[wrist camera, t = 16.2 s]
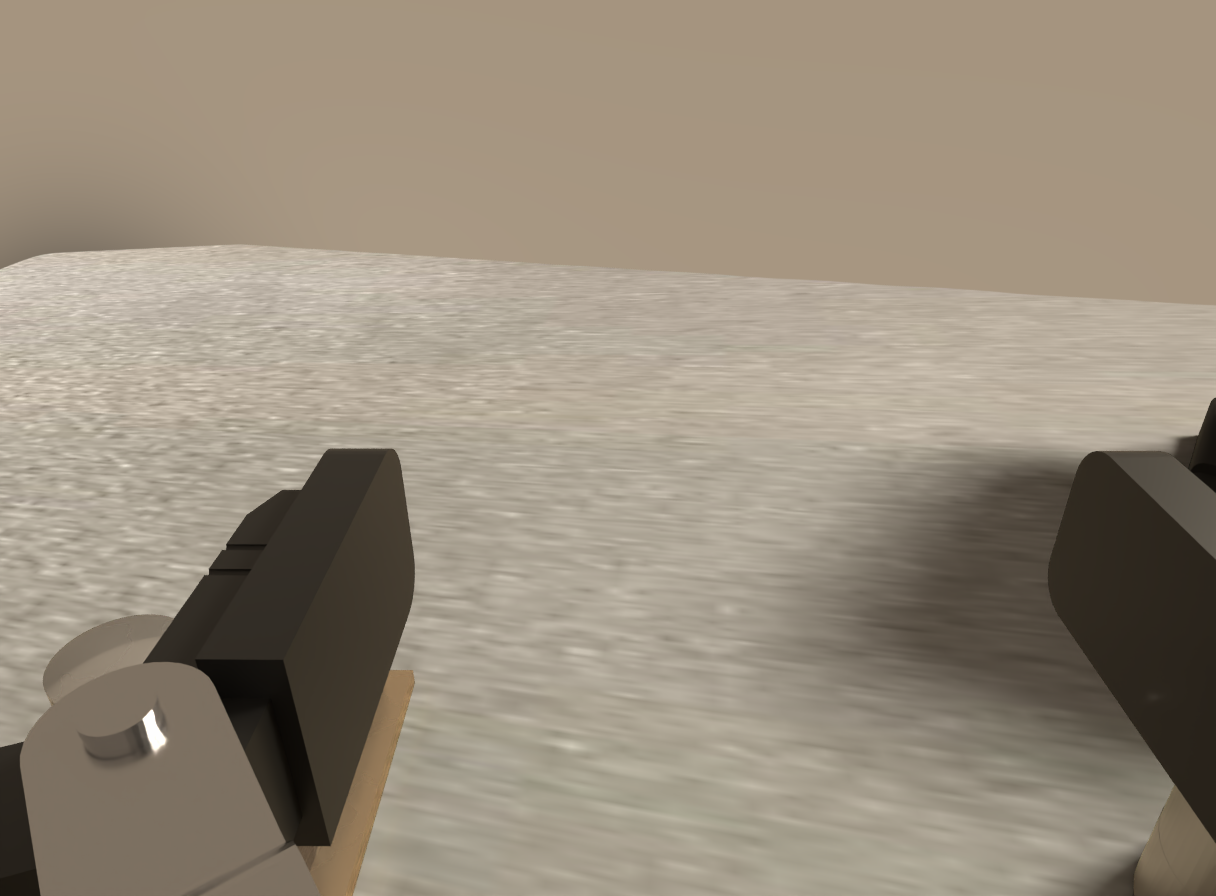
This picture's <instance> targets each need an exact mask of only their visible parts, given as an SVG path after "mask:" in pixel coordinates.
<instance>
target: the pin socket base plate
mask: <svg viewBox="0 0 1216 896" xmlns="http://www.w3.org/2000/svg"><path fill="white" fill-rule="evenodd" d="M414 684H415V681H414V674H413V670H390V671H389V674H388V677H387V680H386V683H385V686H384V689H383V692H382V695H381V698H380V701H379V704H378V707H377V710H376V713H375V716H374V719H373V722H372V725H371V728H370V731H369V734H368V737H367V740H366V743H365V746H364V749H363V752H362V755H361V758H360V761H359V764H358V767H357V770H356V773H355V776H354V779H353V782H352V785H351V788H350V790H349V793H348V796H347V799H346V802H345V805H344V808H343V811H342V814H341V817H340V820H339V823H338V826H337V829H336V832H335V835H334V838H333V841H332V844H331V846H297V848H298V850H299V851H300V853H301V855H302V857H303V859H304V861H305V863H306V865H307V867H308V869H309V872H310V874H311V876H312V878H313V880H314V882H315V884H316V887H317V889H318V891H319V893H320V895H321V896H352V895H353V892H354V888H355V885H356V881H357V878H358V875H359V871H360V868H361V864H362V861H363V858H364V854H365V851H366V847H367V844H368V841H369V837H370V834H371V830H372V827H373V823H374V820H375V817H376V813H377V810H378V806H379V803H380V800H381V796H382V793H383V789H384V786H385V783H386V779H387V776H388V772H389V769H390V765H391V762H392V759H393V755H394V752H395V748H396V745H397V742H398V738H399V735H400V731H401V728H402V725H403V721H404V718H405V714H406V711H407V707H408V704H409V701H410V697H411V694H412V690H413V687H414Z"/></svg>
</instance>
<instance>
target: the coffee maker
mask: <svg viewBox="0 0 1216 896" xmlns="http://www.w3.org/2000/svg"><path fill="white" fill-rule="evenodd" d="M1188 470H1190V471H1191V472H1192V473H1193V474H1194V475H1195V476H1197V477H1198V478H1199V479H1200V480H1201V481H1202V482H1203V483H1205V484H1206V485H1207V486H1208V487H1209V488H1210V489H1212V490H1213V491H1214V492H1215V493H1216V398H1214V399H1213V400H1212V401H1211V403H1210V406H1209V408H1208V411H1207V414H1206V416H1205V419H1204V422H1203V424H1202V427H1201V430H1200V432H1199V435H1198V438H1197V442H1196V445H1195V448H1194V452H1193V455H1192V458H1191V462H1190V465H1189V468H1188Z"/></svg>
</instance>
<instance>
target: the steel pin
mask: <svg viewBox="0 0 1216 896" xmlns="http://www.w3.org/2000/svg"><path fill="white" fill-rule="evenodd" d="M173 620H174V619H173V618H170V617H167V616H162V615H135V616H129V617H124V618H120V619H116V620H113V621H109V622H107V623H104V624H101V625H99V626H97V627H94V628H92V629H90V630H88V631H86V632H84V633H83V634H81V635H79V636H78V637H76V638H74V639H73V640H72V641H70V642H69V643H68V644H66V645H65V646H64V647H63V648H62V649H61V650H60V651H59V652H58V653H57V654H56V655H55V656H54V657H53V658H52V659H51V661H50V662H49V664H48V666H47V668H46V670H45V672H44V676H43V686H44V690H45V692H46V694H47V696H48V699H49V701H50V703H51V706H53V705H54V704H55V703H56V702H58V701H59V700H60V699H61V698H63V697H64V696H66V695H67V694H69V693H70V692H72V691H73V690H75V689H76V688H78V687H80V686H82V685H83V684H85V683H87V682H89V681H91V680H93V679H95V678H97V677H100V676H102V675H104V674H107V673H110V672H112V671H115V670H118V669H121V668H125V667H129V666H133V665H138V664H143V662H144V661H145V659H146V658H147V657H148V655H149V654H150V652H151V651H152V650H153V648H154V647H155V645H156V644H157V642H158V641H159V640H160V638H161V637H162V635H163V634H164V632H165V631H166V630H167V628H168V627H169V625H170V624H171V622H172V621H173Z"/></svg>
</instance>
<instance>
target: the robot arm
mask: <svg viewBox="0 0 1216 896" xmlns="http://www.w3.org/2000/svg"><path fill="white" fill-rule="evenodd" d="M226 546H227V548H226V550H222V551H221V553H220V554H219V555H218V557H217V558H216V560H215V561H214V562H213V564H212V565H211V567H210V568H209V575H204V577H203V578H202V580H201V581H200V582H199V584H198V585H197V587H196V588H195V590H194V591H193V592H192V594H191V595H190V597H189V598H188V600H187V601H186V602H185V604H184V605H183V607H182V608H181V610H180V611H179V612H178V614H177V615H176V617H175V618H174V620H173V621H172V622H171V624H170V625H169V627H168V628H167V630H166V631H165V632H164V634H163V635H162V637H161V638H160V640H159V641H158V642H157V644H156V645H155V647H154V648H153V650H152V651H151V652H150V654H149V655H148V657H147V658H146V659H145V661H144V662H143V664H138V665H133V666H129V667H125V668H121V669H118V670H115V671H112V672H110V673H107V674H104V675H102V676H100V677H97V678H95V679H93V680H91V681H89V682H87V683H85V684H83V685H82V686H80V687H78V688H76V689H75V690H73V691H72V692H70V693H69V694H67V695H66V696H64V697H63V698H61V699H60V700H59V701H58V702H56V703H55V704H54V705H53V706H52V707H50V708H49V709H48V710H47V711H46V712H45V713H44V714H43V715H42V716H41V717H40V719H39V720H38V721H37V722H36V723H35V725H34V726H33V728H32V729H31V730H30V732H29V733H28V735H27V737H26V739H25V741H24V742H21V743H17V744H13V745H9V746H4V747H0V896H321V895H320V893H319V891H318V889H317V887H316V884H315V882H314V880H313V878H312V876H311V874H310V872H309V869H308V867H307V865H306V863H305V861H304V859H303V857H302V855H301V853H300V851H299V850H298V848H297V846H331V844H332V841H333V838H334V835H335V832H336V829H337V826H338V823H339V820H340V817H341V814H342V811H343V808H344V805H345V802H346V799H347V796H348V793H349V790H350V788H351V785H352V782H353V779H354V776H355V773H356V770H357V767H358V764H359V761H360V758H361V755H362V752H363V749H364V746H365V743H366V740H367V737H368V734H369V731H370V728H371V725H372V722H373V719H374V716H375V713H376V710H377V707H378V704H379V701H380V698H381V695H382V692H383V689H384V686H385V683H386V680H387V677H388V674H389V671H390V668H391V665H392V662H393V659H394V656H395V653H396V650H397V647H398V644H399V641H400V638H401V635H402V632H403V630H404V627H405V624H406V621H407V618H408V615H409V612H410V608H411V604H412V599H413V592H414V581H415V564H414V554H413V547H412V540H411V533H410V526H409V519H408V512H407V505H406V498H405V491H404V484H403V477H402V470H401V465H400V461H399V457H398V455H397V453H396V451H395V450H394V449H328V450H327V451H326V452H325V453H324V455H323V456H322V458H321V459H320V461H319V463H318V464H317V466H316V467H315V469H314V471H313V472H312V474H311V475H310V477H309V479H308V480H307V482H306V483H305V485H304V487H303V488H302V490H282V491H280V492H279V493H277V494H276V495H275V496H273V497H272V498H270V499H269V500H267V501H266V502H265V503H263V504H262V505H260V506H259V507H257V508H256V509H255V510H253V511H252V512H250V513H249V514H247V515H246V517H245V518H244V520H243V521H242V523H241V524H240V525H239V527H238V528H237V530H236V531H235V533H234V534H233V535H232V537H231V538H230V540H229V541H228V543H227V544H226ZM1048 585H1049V592H1050V596H1051V600H1052V603H1053V606H1054V608H1055V610H1056V612H1057V614H1058V616H1059V617H1060V619H1061V620H1062V621H1063V623H1064V624H1065V626H1066V627H1067V629H1068V630H1069V632H1070V633H1071V634H1072V636H1073V637H1074V639H1075V640H1076V642H1077V643H1078V645H1079V646H1080V648H1081V649H1082V650H1083V652H1084V653H1085V655H1086V656H1087V658H1088V659H1089V661H1090V662H1091V663H1092V665H1093V666H1094V668H1095V669H1096V671H1097V672H1098V674H1099V675H1100V677H1101V678H1102V679H1103V681H1104V682H1105V684H1106V685H1107V687H1108V688H1109V690H1110V691H1111V692H1112V694H1113V695H1114V697H1115V698H1116V700H1117V701H1118V703H1119V704H1120V706H1121V707H1122V708H1123V710H1124V711H1125V713H1126V714H1127V716H1128V717H1129V719H1130V720H1131V721H1132V723H1133V724H1134V726H1135V727H1136V729H1137V730H1138V732H1139V733H1140V734H1141V736H1142V737H1143V739H1144V740H1145V742H1146V743H1147V745H1148V746H1149V748H1150V749H1151V750H1152V752H1153V753H1154V755H1155V756H1156V758H1157V759H1158V761H1159V762H1160V763H1161V765H1162V766H1163V768H1164V769H1165V771H1166V772H1167V774H1168V775H1169V777H1170V778H1171V779H1172V781H1173V782H1174V784H1175V785H1174V787H1173V789H1172V791H1171V794H1170V796H1169V798H1168V800H1167V802H1166V804H1165V806H1164V808H1163V810H1162V812H1161V814H1160V816H1159V818H1158V821H1157V823H1156V825H1155V827H1154V829H1153V831H1152V833H1151V836H1150V838H1149V840H1148V842H1147V844H1146V846H1145V849H1144V851H1143V853H1142V855H1141V857H1140V859H1139V862H1138V864H1137V867H1136V870H1135V873H1134V895H1135V896H1216V493H1215V492H1214V491H1213V490H1212V489H1210V488H1209V487H1208V486H1207V485H1206V484H1205V483H1203V482H1202V481H1201V480H1200V479H1199V478H1198V477H1197V476H1195V475H1194V474H1193V473H1192V472H1191V471H1190V470H1188V469H1187V468H1186V467H1185V466H1184V465H1183V464H1181V463H1180V462H1179V461H1178V460H1177V459H1176V458H1174V457H1173V456H1172V455H1170V454H1168V453H1166V452H1161V451H1095V452H1092V453H1090V454H1088V455H1087V456H1086V457H1085V458H1084V459H1083V460H1082V462H1081V463H1080V465H1079V467H1078V470H1077V473H1076V476H1075V479H1074V482H1073V486H1072V489H1071V492H1070V496H1069V499H1068V502H1067V505H1066V509H1065V512H1064V515H1063V519H1062V522H1061V525H1060V528H1059V532H1058V535H1057V538H1056V542H1055V545H1054V548H1053V551H1052V555H1051V558H1050V562H1049V569H1048Z"/></svg>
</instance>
